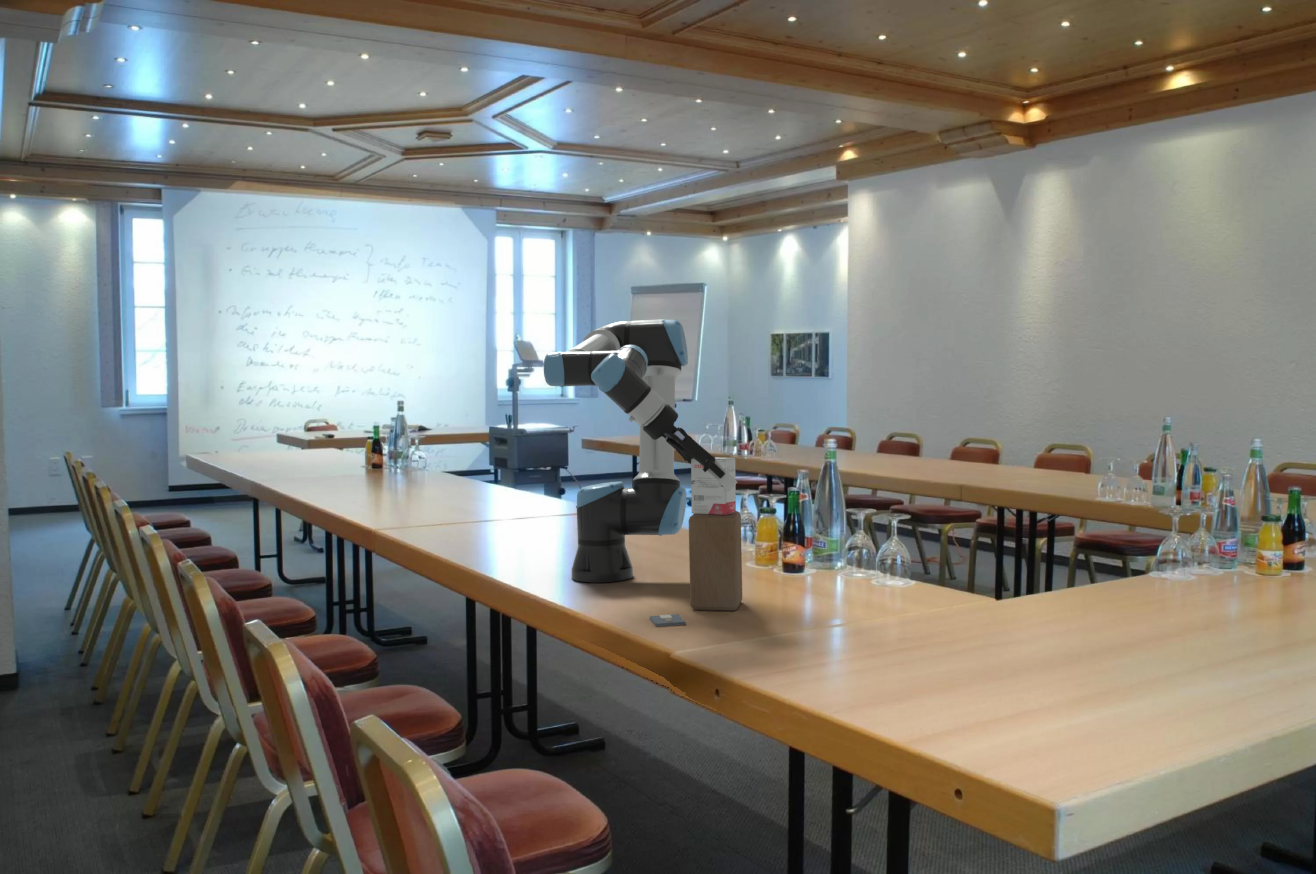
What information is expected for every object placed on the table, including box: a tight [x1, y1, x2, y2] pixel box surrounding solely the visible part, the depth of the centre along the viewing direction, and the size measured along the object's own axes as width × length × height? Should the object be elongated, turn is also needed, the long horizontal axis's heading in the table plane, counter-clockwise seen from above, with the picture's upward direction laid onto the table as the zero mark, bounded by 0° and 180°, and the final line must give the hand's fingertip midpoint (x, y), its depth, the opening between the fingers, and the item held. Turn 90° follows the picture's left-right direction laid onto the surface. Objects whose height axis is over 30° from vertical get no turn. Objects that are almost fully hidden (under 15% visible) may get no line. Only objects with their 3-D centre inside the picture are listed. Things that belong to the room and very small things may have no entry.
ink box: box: [690, 457, 737, 515], centre depth 225 cm, size 9×5×12 cm, turn 59°
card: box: [648, 613, 687, 628], centre depth 213 cm, size 7×6×1 cm
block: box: [688, 510, 743, 612], centre depth 226 cm, size 10×10×20 cm
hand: (724, 483), depth 225 cm, fingers open, 13 cm apart
